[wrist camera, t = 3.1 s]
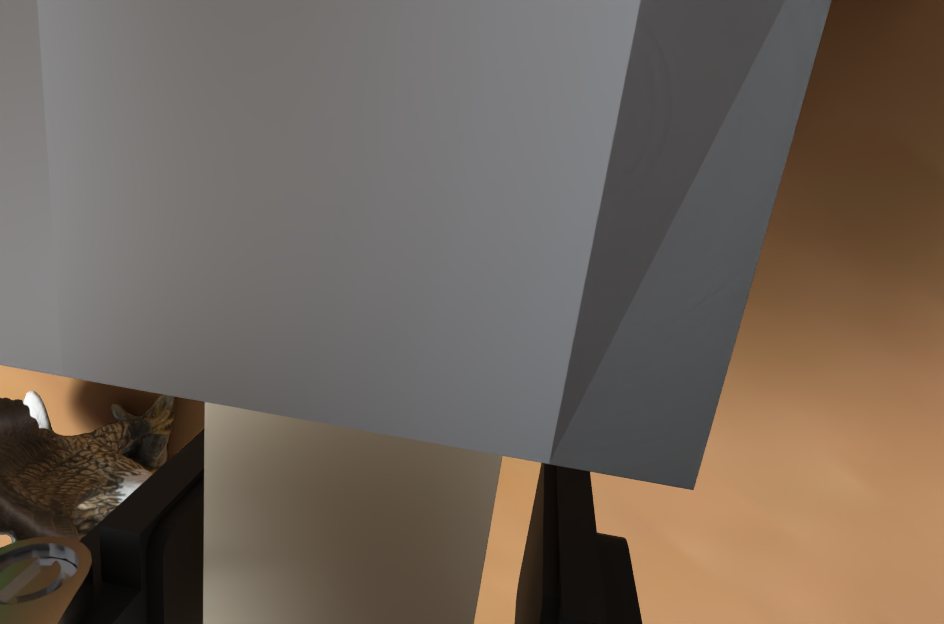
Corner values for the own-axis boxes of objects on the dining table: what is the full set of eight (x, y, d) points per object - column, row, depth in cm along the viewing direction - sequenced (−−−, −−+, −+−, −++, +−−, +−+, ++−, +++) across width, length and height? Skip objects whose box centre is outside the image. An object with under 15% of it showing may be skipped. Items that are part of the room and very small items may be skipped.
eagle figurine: (286, 518, 22) (120, 775, 13) (103, 541, 23) (-156, 790, 15) (215, 308, 20) (-33, 454, 11) (19, 345, 21) (-338, 502, 13)
